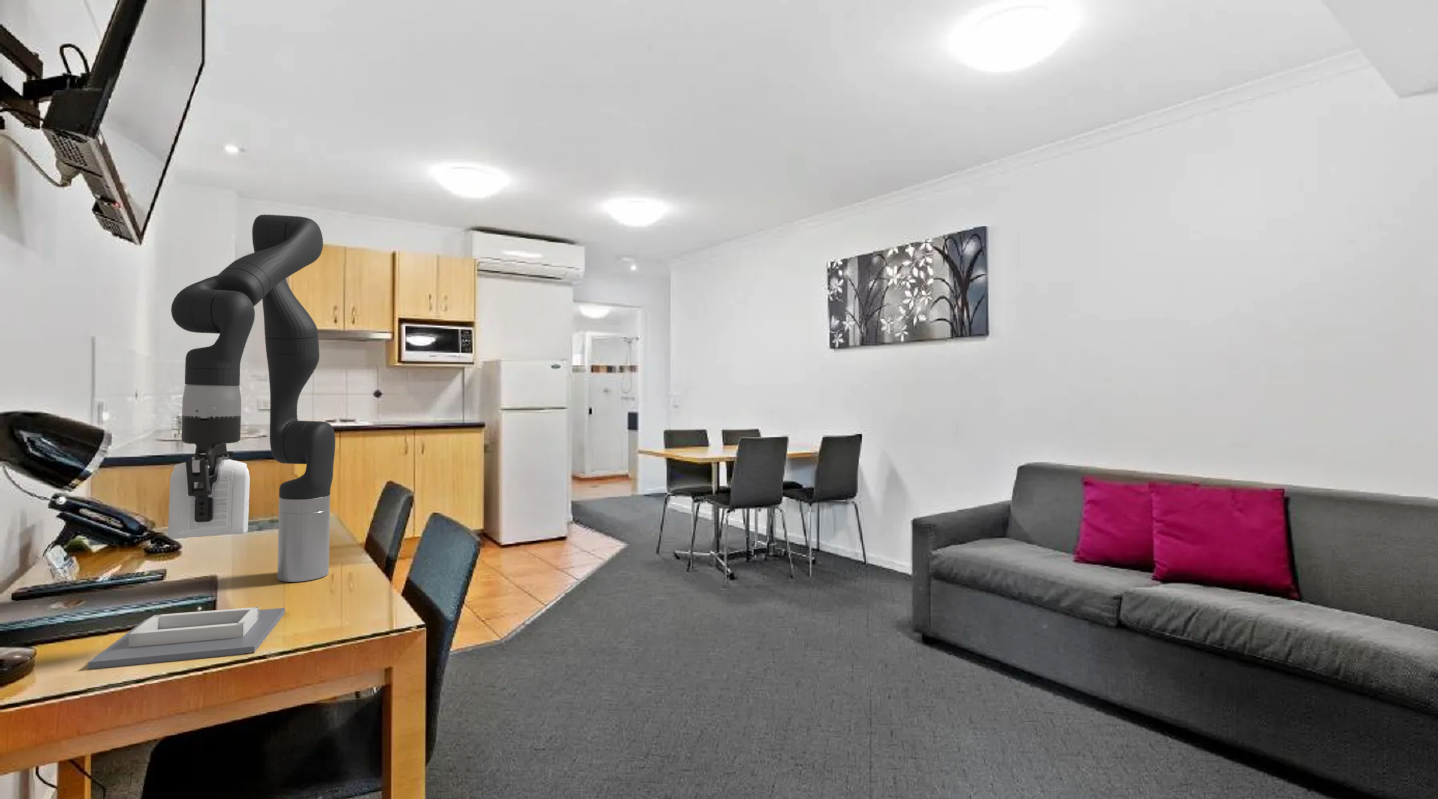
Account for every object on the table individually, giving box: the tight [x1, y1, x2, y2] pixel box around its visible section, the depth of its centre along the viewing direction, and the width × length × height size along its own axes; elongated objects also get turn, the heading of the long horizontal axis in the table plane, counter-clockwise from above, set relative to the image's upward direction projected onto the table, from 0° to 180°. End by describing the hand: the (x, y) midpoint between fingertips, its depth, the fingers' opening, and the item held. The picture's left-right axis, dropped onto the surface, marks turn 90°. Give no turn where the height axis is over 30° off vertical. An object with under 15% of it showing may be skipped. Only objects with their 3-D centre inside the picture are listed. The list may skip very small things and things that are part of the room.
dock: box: [87, 606, 286, 670], centre depth 105 cm, size 18×20×3 cm
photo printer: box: [167, 459, 251, 539], centre depth 105 cm, size 10×4×12 cm, turn 124°
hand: (209, 517), depth 105 cm, fingers closed on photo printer, 4 cm apart
